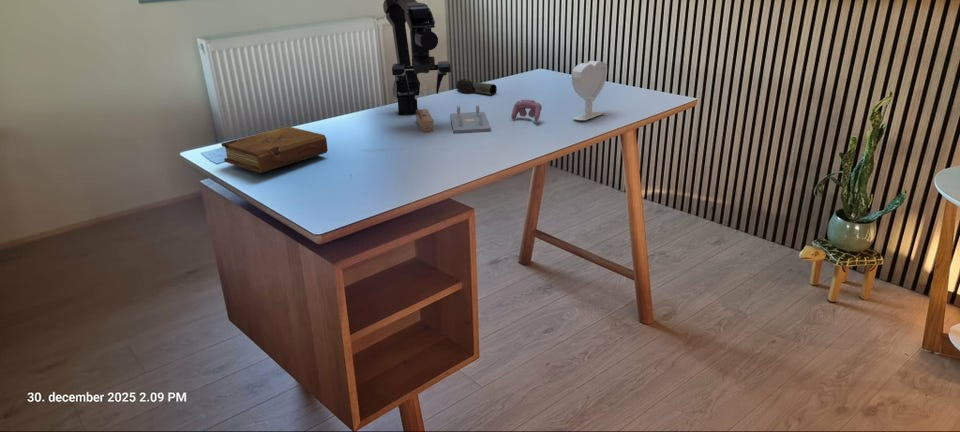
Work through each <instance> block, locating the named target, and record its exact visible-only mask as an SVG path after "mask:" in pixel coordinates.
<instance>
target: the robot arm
mask: <svg viewBox="0 0 960 432" xmlns="http://www.w3.org/2000/svg"><path fill="white" fill-rule="evenodd" d="M382 8H383V12H384V14H385V17H386V20H387V21H388V23H389V24H390V25H391V27H392V33H393V35H392V36H393V41H394V48H395V49H394V50H395V55H396V56H395V57H396V61H397V63H393V64H392V65H391V66H392V67H391V73H392V76H394V81H393V86H392V95H393V97H395V98H396V99H397V110H398V111H397V113H398V115H400V116H401V115H402V116H403V115H416V110H419V108H418V98H417V97H416V96H420V92H421V90H420V89H421V82H420V80H419V78H418V75H419V74H429V73H430V71H437V72H436V86H435V90H436V92H435V93H436V95H438V94H439V90H440V86H441V84H442V80H443V77H445V76H447V75H448V74H449V73H451V72H452V70H451V69H452V68H451V63H450V61H448V60H444V61H441V60H440V61H437V63H436V59H435V56H431V55H430V51H433V50H434V49H436V48H437V46H438V43H439V37H438V35H437V34H436V33H435V32H434V31H432V29H433V28H436V27H435V24H436V21H435V19H434V16H433V15H434V14H433V13H432V10H431V8H430V7H429V6H428V4H426V3H425V2H424V3H423V2H418V1H417V0H383V4H382ZM406 24H407V26H408V29H409V35H410V36H409V37H410V50H409V41H408V35H407V26H406ZM410 51H411V54H410ZM410 55H411V57H410Z"/></svg>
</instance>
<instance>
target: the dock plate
mask: <svg viewBox="0 0 960 432" xmlns="http://www.w3.org/2000/svg"><path fill="white" fill-rule="evenodd" d="M479 113H482V123H483V125H479V117H476V111H475V112H460V114H462V121H463V126H459V118H458V117H457V112H455V113H453V112H452V113H450V114H449V117H450V122H451V127H452V131H453V134H466V133H467V134H468V133H484V132H487V133H488V132H491V131H492V129H491V125H490V123H489V120H488V118H487V115H486V113H485V111H479Z"/></svg>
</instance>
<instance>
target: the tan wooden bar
mask: <svg viewBox="0 0 960 432" xmlns="http://www.w3.org/2000/svg"><path fill="white" fill-rule="evenodd" d="M415 120H416V123H417V125H418V127H419V130H420V132H421V133H422V134H425V133H434V132H435V128H434V126H435V125H434V119H433V117H432V115H431V113H430V112H429V110H428V109H427V108H426V109H418V110H416V114H415Z"/></svg>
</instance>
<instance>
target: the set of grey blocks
mask: <svg viewBox="0 0 960 432" xmlns="http://www.w3.org/2000/svg"><path fill="white" fill-rule="evenodd" d="M475 112H476V117H479V125H483V123H482V113H479V112H480V105H478V104H477V105H475ZM456 113H457V117H458V118H459V126H463V121H462V114H460V113H461V107H460V106H459V105H458V106H456Z"/></svg>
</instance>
